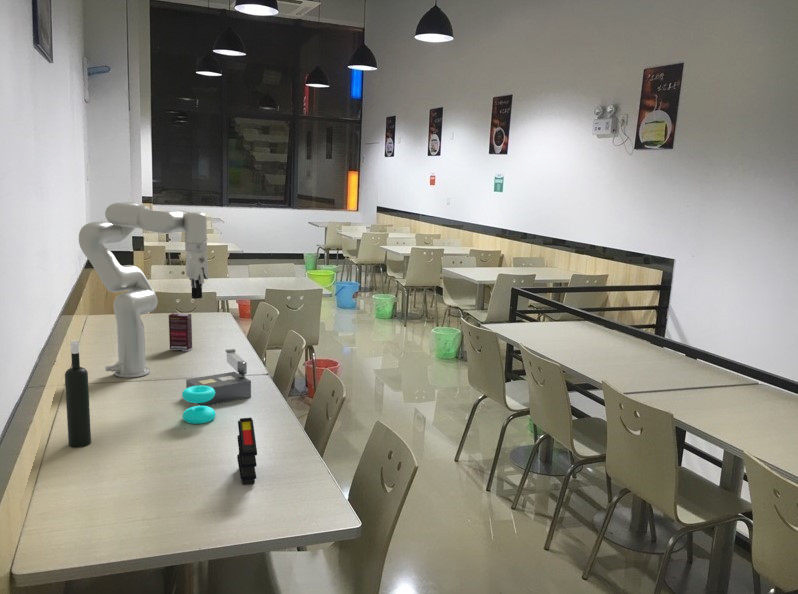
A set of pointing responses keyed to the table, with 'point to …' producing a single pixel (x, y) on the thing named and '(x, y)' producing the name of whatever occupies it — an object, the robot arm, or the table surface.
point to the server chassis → (224, 387)
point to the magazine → (247, 451)
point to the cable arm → (236, 362)
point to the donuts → (198, 412)
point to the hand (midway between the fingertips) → (196, 297)
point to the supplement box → (180, 331)
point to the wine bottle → (77, 401)
